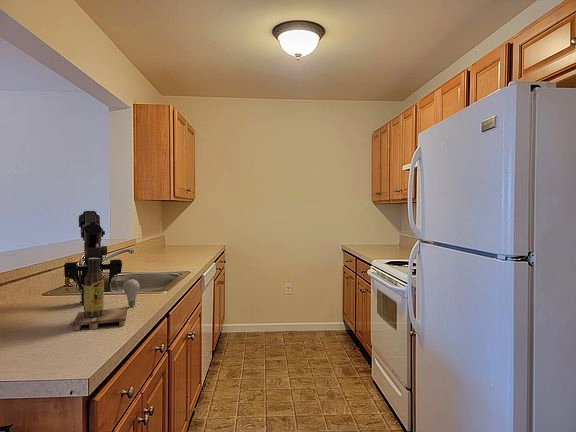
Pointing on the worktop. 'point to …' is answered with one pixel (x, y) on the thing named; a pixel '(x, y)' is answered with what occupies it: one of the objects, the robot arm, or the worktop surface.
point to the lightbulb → (131, 291)
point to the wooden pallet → (101, 318)
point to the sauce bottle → (93, 289)
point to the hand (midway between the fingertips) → (94, 287)
